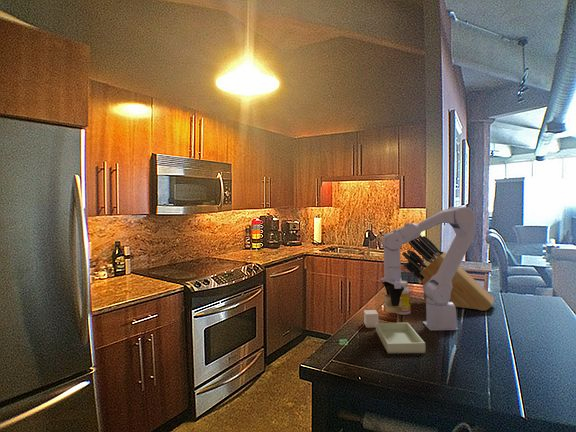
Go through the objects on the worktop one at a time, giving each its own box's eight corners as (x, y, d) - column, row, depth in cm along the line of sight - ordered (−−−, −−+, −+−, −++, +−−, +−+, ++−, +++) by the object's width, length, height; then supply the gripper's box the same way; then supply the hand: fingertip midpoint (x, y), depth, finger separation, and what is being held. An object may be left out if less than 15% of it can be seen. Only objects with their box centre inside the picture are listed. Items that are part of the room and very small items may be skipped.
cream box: (376, 322, 126) (375, 310, 126) (378, 327, 122) (378, 313, 121) (364, 323, 126) (363, 310, 126) (366, 327, 122) (365, 314, 122)
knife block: (409, 295, 160) (407, 231, 159) (494, 305, 140) (493, 232, 139) (402, 301, 151) (400, 233, 150) (492, 313, 131) (490, 235, 129)
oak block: (398, 307, 122) (397, 294, 122) (402, 312, 117) (401, 298, 117) (384, 308, 123) (384, 294, 123) (387, 312, 118) (387, 298, 118)
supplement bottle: (412, 315, 132) (411, 283, 132) (394, 315, 133) (393, 283, 133) (409, 310, 139) (408, 279, 138) (392, 309, 140) (391, 279, 139)
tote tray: (408, 330, 117) (407, 322, 117) (425, 352, 100) (425, 343, 100) (376, 331, 117) (375, 323, 117) (387, 353, 100) (387, 343, 100)
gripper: (377, 262, 127) (378, 297, 128) (385, 270, 113) (386, 310, 113) (395, 262, 127) (396, 297, 127) (406, 270, 112) (407, 309, 113)
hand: (393, 303), depth 120 cm, fingers closed on oak block, 5 cm apart
